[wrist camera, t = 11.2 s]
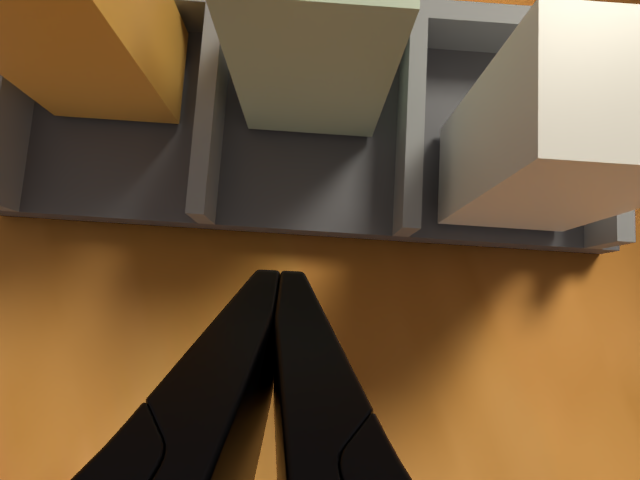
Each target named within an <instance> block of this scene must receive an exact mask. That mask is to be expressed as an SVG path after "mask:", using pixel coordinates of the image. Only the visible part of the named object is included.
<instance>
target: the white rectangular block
mask: <svg viewBox="0 0 640 480" xmlns="http://www.w3.org/2000/svg"><path fill="white" fill-rule="evenodd" d="M639 208H640V4H628V3H614V2H600V1H586V0H536V1H535V3H534V4H533V5H532V7H531V8H530V9H529V11H528V12H527V13H526V15H525V16H524V18H523V19H522V20H521V22H520V23H519V24H518V26H517V27H516V28H515V30H514V31H513V32H512V34H511V35H510V36H509V38H508V39H507V40H506V42H505V43H504V44H503V46H502V47H501V48H500V50H499V51H498V53H497V54H496V55H495V57H494V58H493V59H492V61H491V62H490V63H489V65H488V66H487V67H486V69H485V70H484V71H483V73H482V74H481V75H480V77H479V78H478V79H477V81H476V82H475V84H474V85H473V86H472V88H471V89H470V90H469V92H468V93H467V94H466V96H465V97H464V98H463V100H462V101H461V102H460V104H459V105H458V106H457V108H456V109H455V110H454V112H453V113H452V114H451V116H450V117H449V119H448V120H447V121H446V123H445V124H444V125H443V127H442V128H441V129H440V158H439V190H438V223H437V224H452V225H468V226H483V227H499V228H514V229H530V230H545V231H561V232H563V231H566V230H569V229H573V228H576V227H579V226H583V225H586V224H589V223H593V222H596V221H599V220H603V219H606V218H609V217H613V216H616V215H619V214H623V213H626V212H629V211H633V210H636V209H639Z"/></svg>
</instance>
